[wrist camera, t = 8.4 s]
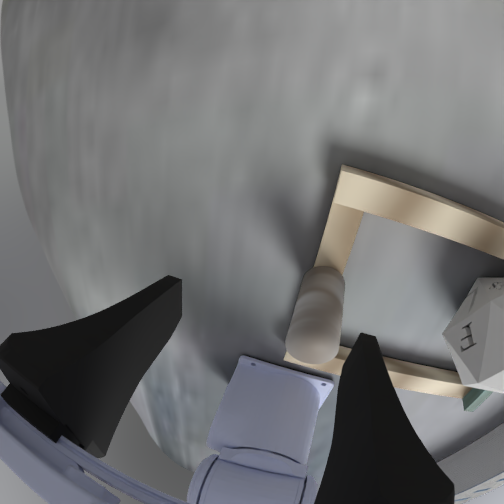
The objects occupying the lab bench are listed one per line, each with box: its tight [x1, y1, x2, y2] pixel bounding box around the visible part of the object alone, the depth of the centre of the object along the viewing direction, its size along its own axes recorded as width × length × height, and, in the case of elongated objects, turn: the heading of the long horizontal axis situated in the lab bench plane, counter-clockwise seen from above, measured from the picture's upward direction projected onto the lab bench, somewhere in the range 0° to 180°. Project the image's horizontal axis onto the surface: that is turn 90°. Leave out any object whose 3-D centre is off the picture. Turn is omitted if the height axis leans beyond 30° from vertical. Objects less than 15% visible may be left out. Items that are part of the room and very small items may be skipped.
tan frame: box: [284, 164, 504, 412], centre depth 18 cm, size 20×16×7 cm
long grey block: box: [437, 423, 504, 504], centre depth 24 cm, size 30×14×8 cm, turn 159°
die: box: [442, 278, 504, 393], centre depth 16 cm, size 8×9×10 cm
